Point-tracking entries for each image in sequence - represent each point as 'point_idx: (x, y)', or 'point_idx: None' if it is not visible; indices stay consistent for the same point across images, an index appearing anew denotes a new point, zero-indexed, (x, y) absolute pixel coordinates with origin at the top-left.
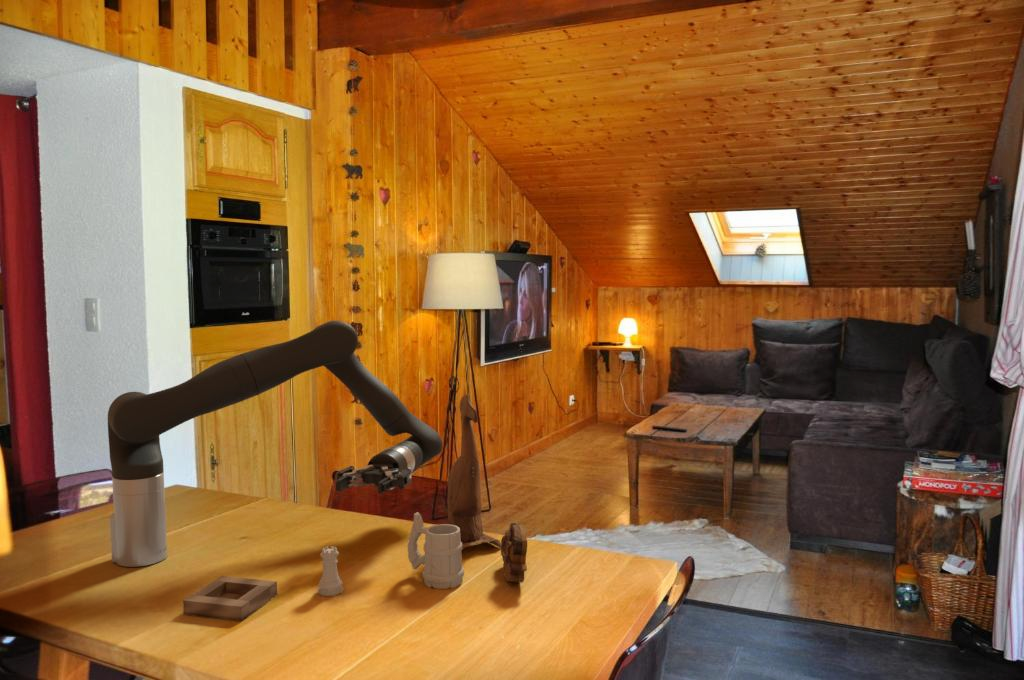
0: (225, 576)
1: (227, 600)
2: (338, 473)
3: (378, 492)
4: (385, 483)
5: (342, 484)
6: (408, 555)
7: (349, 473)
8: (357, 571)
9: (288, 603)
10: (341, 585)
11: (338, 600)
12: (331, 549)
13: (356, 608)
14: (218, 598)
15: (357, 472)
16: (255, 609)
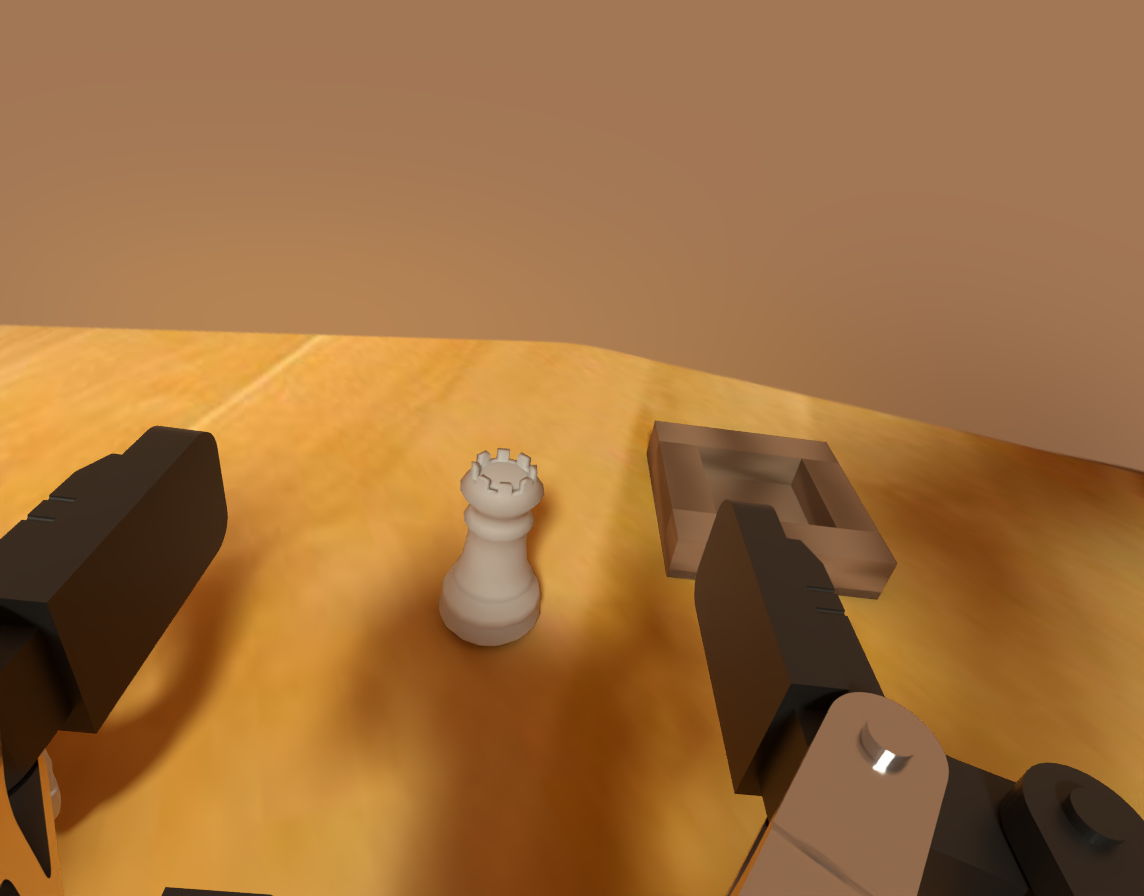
0: (880, 559)
1: (717, 442)
2: (1053, 770)
3: (222, 516)
4: (94, 480)
5: (720, 580)
6: (56, 783)
7: (862, 785)
8: (440, 858)
9: (592, 534)
10: (442, 587)
11: (432, 560)
12: (498, 479)
13: (351, 519)
14: (751, 450)
15: (749, 869)
16: (654, 487)
